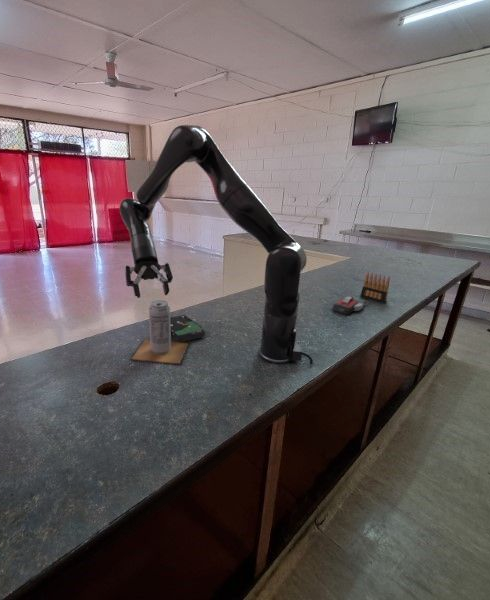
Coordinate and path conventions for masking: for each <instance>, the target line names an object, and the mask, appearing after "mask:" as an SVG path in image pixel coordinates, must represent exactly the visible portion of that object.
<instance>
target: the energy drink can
mask: <svg viewBox="0 0 490 600" xmlns="http://www.w3.org/2000/svg"><path fill="white" fill-rule="evenodd" d="M148 317H149V319H148V323H149V340H150V346H151V350H152V351H153V352H154V353H156V354H165V353H167V352H168V351H169V349H170V348H171V342H172V337H171V325H170V317H171V307H170V306H169V303H168V301H166V300H154V301H151V303H150V305H149V308H148Z"/></svg>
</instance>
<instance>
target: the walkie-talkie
mask: <svg viewBox="0 0 490 600" xmlns="http://www.w3.org/2000/svg"><path fill="white" fill-rule="evenodd" d="M368 302H369V299H365V300H364V301H362V302H359V301H358V300H357V299H354V297H352V296H348V295H347V296H346V297H342V298H341V299H339V300H338V301H336V302H335V303H333V307H332V311H334V312H338V313H341V314H344V315H345V314H346V315H349V314H351V313H352V312H359V311H361V310H362V309H364V305H365V304H367V303H368Z"/></svg>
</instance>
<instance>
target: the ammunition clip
mask: <svg viewBox="0 0 490 600" xmlns="http://www.w3.org/2000/svg"><path fill="white" fill-rule="evenodd" d="M390 280H391V277H390V276H387V278H386V275H383V277H382V274H379V276H378V274H377V273H375V275H374V274H373V272H371V273H370V272H369V271H367V272H366V274H365V278H364V281H363V286H362V288H361V292H360V296H359V297H360V298H363V299H365V300H371V301H374V302H379V303H382V304H386V303H387V299H388V295H389V294H388V293H389V289H390V282H391V281H390Z"/></svg>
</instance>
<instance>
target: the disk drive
mask: <svg viewBox="0 0 490 600" xmlns="http://www.w3.org/2000/svg"><path fill="white" fill-rule="evenodd" d="M170 325H171V339H173V340H174V342H181V343H183V342H186V341H190V340H194V339H198V338H203V337H205V335H206V330H205V329H204V328H203V326H201V325H199V324H198V323H197V322H195V321H194V320H193V319H192V318H189V316H187V315H185V314H181V315H176V316H170Z"/></svg>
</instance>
